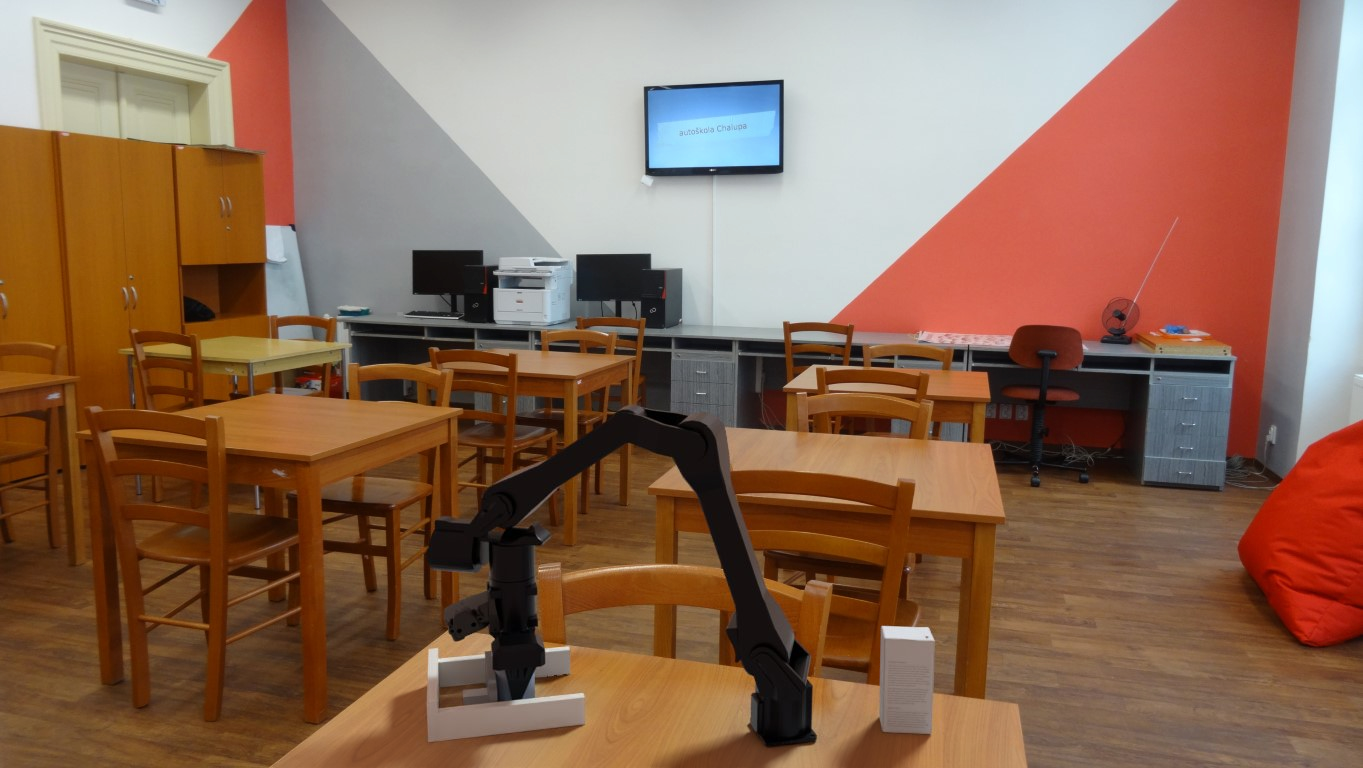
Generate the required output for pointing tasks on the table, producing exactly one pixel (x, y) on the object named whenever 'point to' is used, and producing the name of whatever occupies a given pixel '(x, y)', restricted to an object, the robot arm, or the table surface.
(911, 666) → the skincare box
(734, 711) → the table surface
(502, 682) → the jar
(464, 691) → the pusher
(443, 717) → the lane
